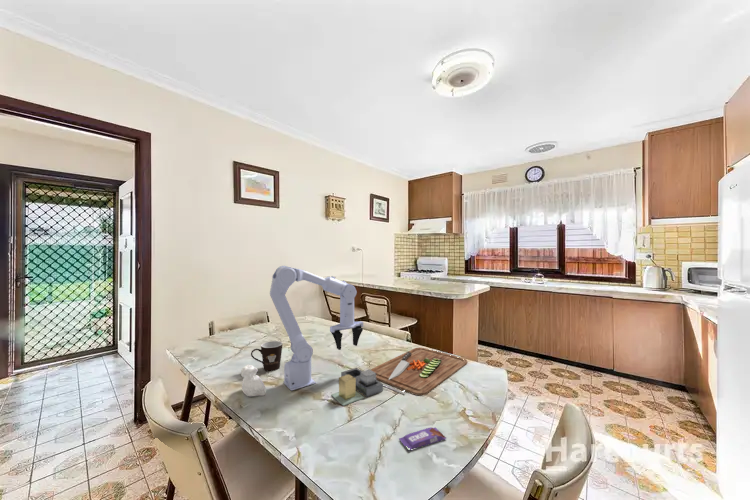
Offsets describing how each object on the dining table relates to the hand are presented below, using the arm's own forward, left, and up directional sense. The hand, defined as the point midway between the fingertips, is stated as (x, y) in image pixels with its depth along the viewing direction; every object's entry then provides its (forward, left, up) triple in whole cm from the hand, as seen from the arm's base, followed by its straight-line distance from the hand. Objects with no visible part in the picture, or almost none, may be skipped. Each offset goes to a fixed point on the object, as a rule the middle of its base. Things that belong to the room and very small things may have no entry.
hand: (347, 347), depth 113 cm
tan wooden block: (-10, -16, -10) cm, 21 cm away
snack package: (-5, -46, -11) cm, 48 cm away
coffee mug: (-24, +24, -11) cm, 36 cm away
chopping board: (+27, -14, -11) cm, 32 cm away
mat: (-10, -16, -10) cm, 21 cm away
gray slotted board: (-1, -12, -10) cm, 16 cm away
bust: (-35, +5, -11) cm, 37 cm away
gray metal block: (-1, -16, -10) cm, 19 cm away
